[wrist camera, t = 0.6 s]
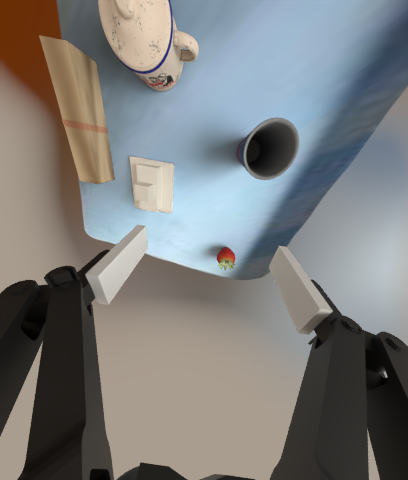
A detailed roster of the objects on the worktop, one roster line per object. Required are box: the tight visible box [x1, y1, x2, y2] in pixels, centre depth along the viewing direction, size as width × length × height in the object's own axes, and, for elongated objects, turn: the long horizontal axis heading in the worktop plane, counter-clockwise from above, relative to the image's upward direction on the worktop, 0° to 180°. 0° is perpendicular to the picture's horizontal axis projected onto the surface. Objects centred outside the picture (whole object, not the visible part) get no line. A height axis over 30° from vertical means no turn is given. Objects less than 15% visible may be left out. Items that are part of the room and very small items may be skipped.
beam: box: [40, 36, 115, 184], centre depth 29 cm, size 4×20×6 cm, turn 171°
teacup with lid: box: [98, 0, 198, 91], centre depth 20 cm, size 12×9×12 cm
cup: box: [237, 118, 299, 180], centre depth 25 cm, size 7×7×15 cm
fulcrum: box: [130, 156, 174, 213], centre depth 34 cm, size 12×10×7 cm
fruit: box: [217, 247, 235, 270], centre depth 42 cm, size 5×5×8 cm
